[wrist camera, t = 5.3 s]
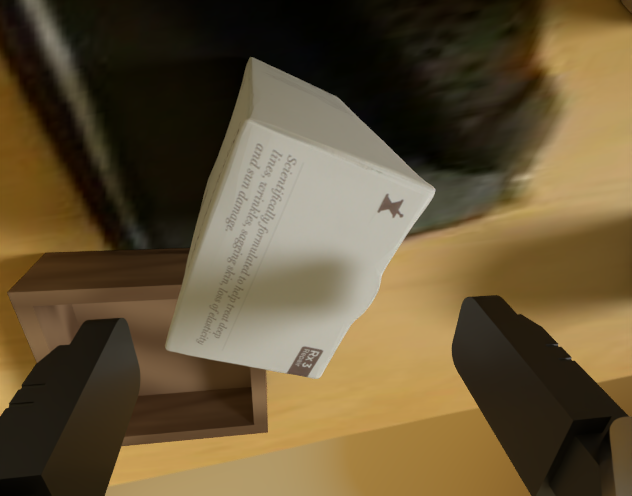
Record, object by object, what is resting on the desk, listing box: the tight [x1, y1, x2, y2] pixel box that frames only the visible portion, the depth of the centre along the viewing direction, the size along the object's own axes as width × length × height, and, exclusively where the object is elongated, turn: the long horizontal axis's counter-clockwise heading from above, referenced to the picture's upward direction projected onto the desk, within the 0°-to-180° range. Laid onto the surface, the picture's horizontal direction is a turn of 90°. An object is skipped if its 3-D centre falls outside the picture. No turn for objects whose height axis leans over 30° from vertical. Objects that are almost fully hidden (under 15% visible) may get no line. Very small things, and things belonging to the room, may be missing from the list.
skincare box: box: [165, 57, 435, 379], centre depth 18 cm, size 8×6×15 cm
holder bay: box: [7, 248, 268, 446], centre depth 28 cm, size 14×14×4 cm
